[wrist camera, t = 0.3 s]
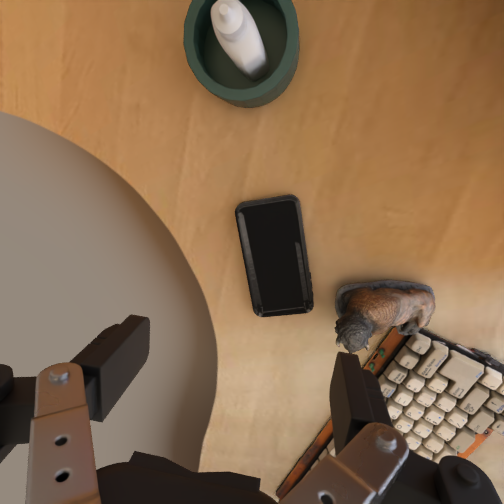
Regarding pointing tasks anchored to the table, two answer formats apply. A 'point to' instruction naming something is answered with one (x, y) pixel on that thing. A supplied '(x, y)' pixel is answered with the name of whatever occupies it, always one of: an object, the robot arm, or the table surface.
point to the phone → (275, 255)
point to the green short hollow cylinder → (223, 68)
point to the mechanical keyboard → (427, 399)
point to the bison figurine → (381, 310)
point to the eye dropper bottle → (240, 38)
